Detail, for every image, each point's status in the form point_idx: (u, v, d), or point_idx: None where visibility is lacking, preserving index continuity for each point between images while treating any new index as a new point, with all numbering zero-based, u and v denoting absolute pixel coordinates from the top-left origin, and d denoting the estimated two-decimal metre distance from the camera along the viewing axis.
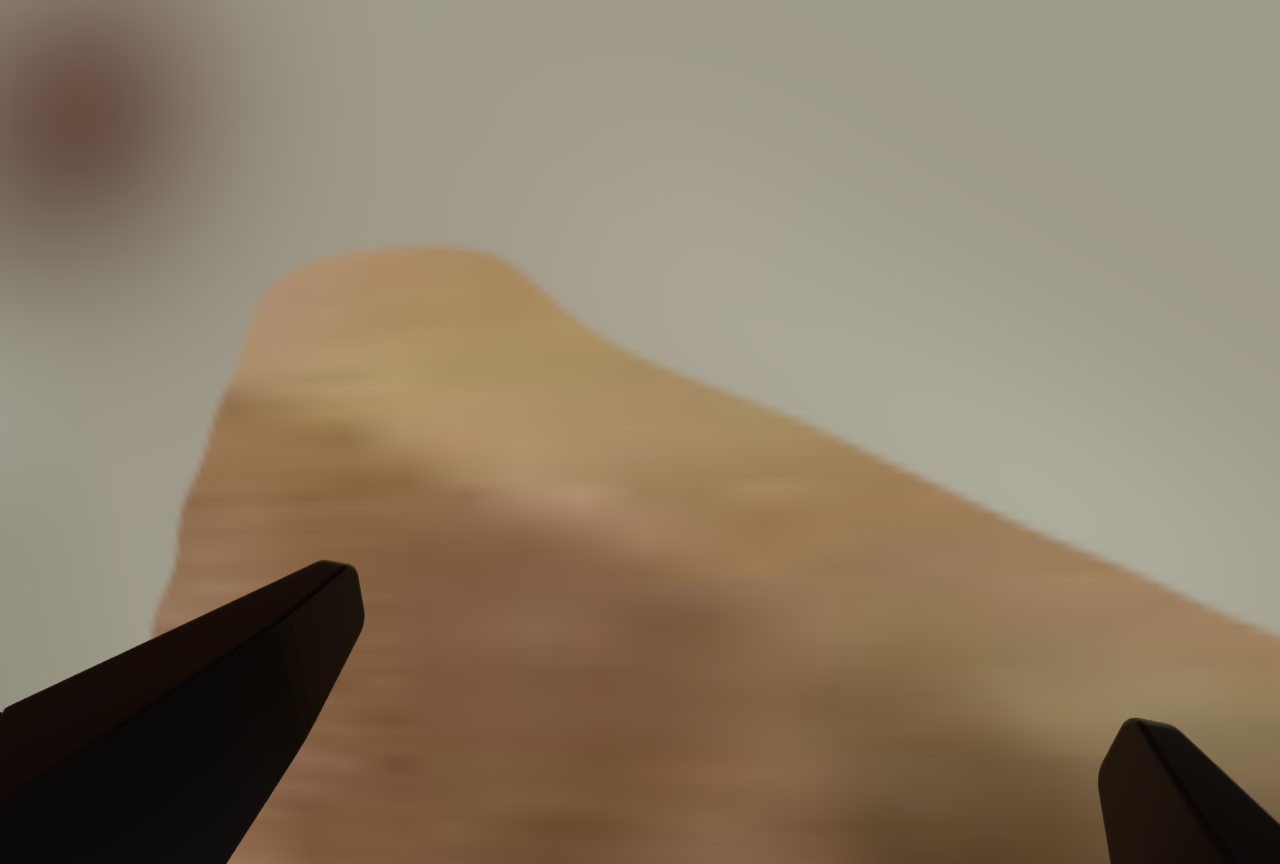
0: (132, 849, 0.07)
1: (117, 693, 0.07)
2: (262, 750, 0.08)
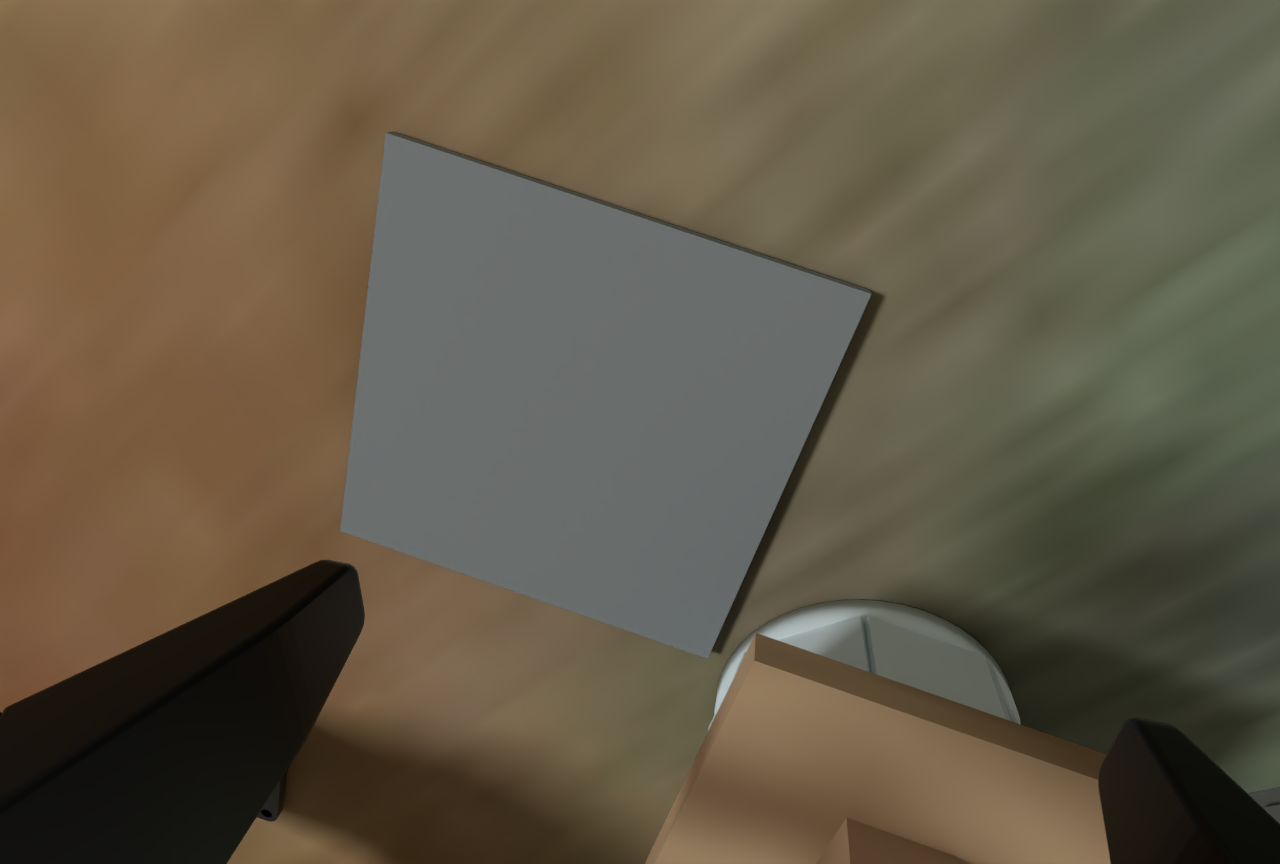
0: (132, 849, 0.07)
1: (117, 693, 0.07)
2: (262, 750, 0.08)
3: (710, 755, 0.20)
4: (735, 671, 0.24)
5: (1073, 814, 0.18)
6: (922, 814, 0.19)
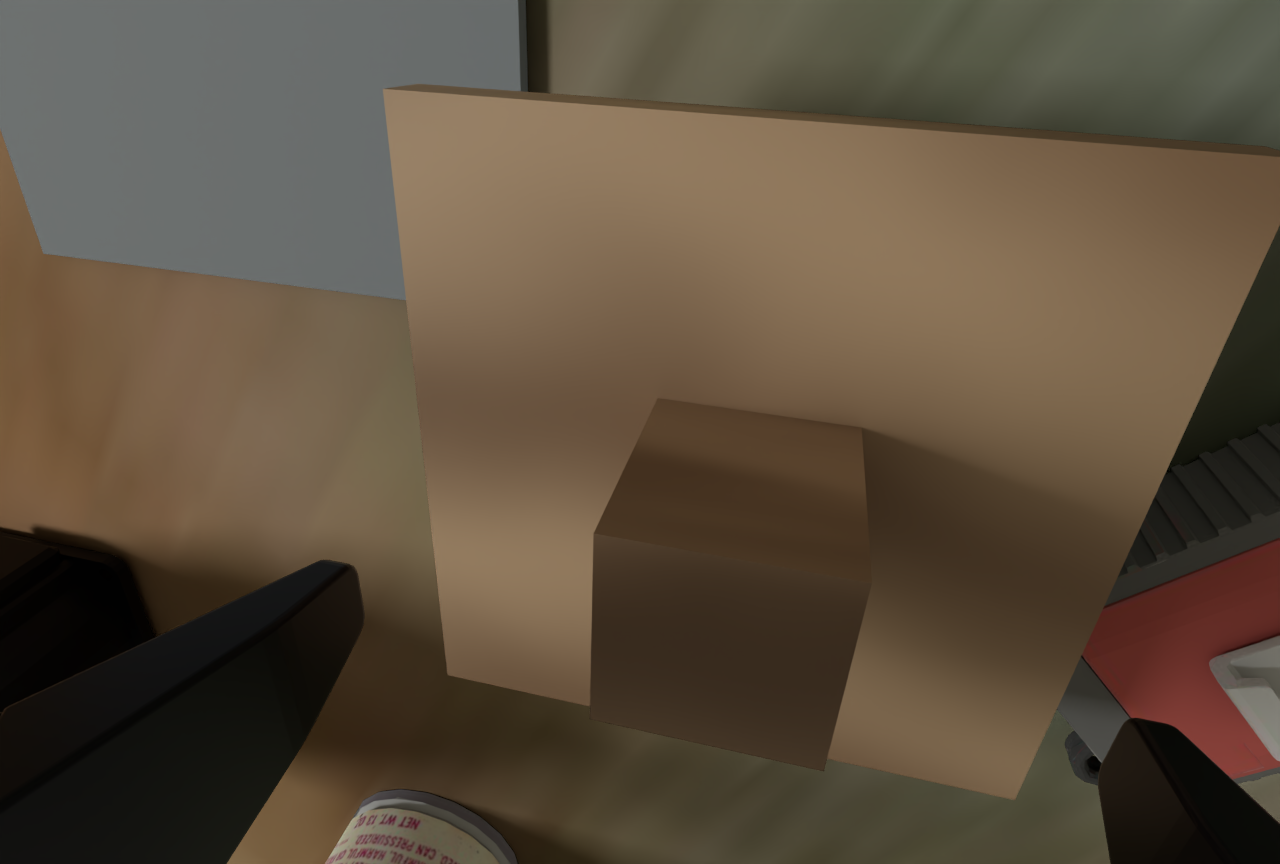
0: (132, 849, 0.07)
1: (117, 693, 0.07)
2: (262, 750, 0.08)
3: (413, 333, 0.12)
4: None
5: (1044, 252, 0.09)
6: (773, 348, 0.10)
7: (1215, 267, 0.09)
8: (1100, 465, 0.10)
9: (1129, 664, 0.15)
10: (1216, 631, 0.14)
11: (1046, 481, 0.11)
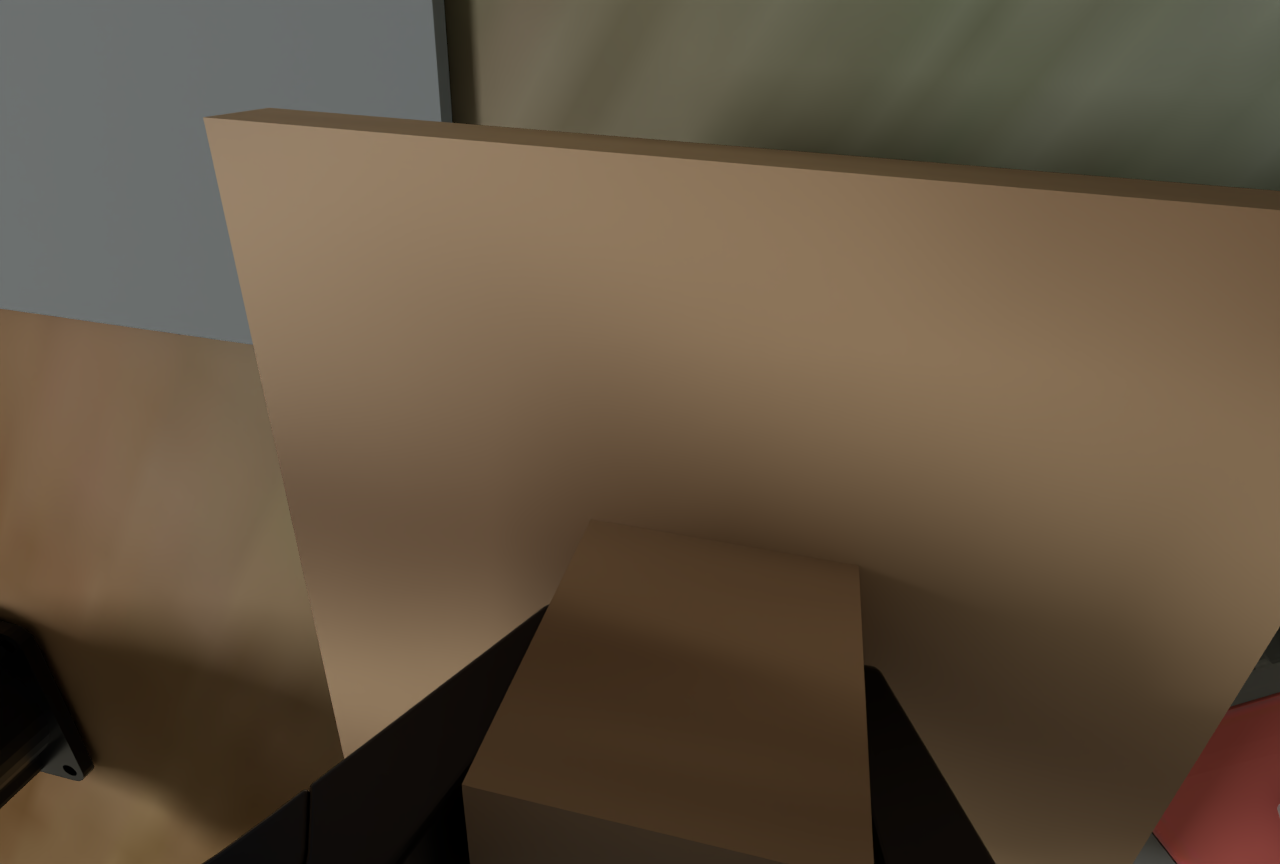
0: None
1: (418, 766, 0.06)
2: None
3: (275, 430, 0.09)
4: None
5: (1117, 352, 0.06)
6: (740, 464, 0.08)
7: None
8: (1180, 625, 0.08)
9: (1175, 800, 0.12)
10: None
11: (1106, 641, 0.08)
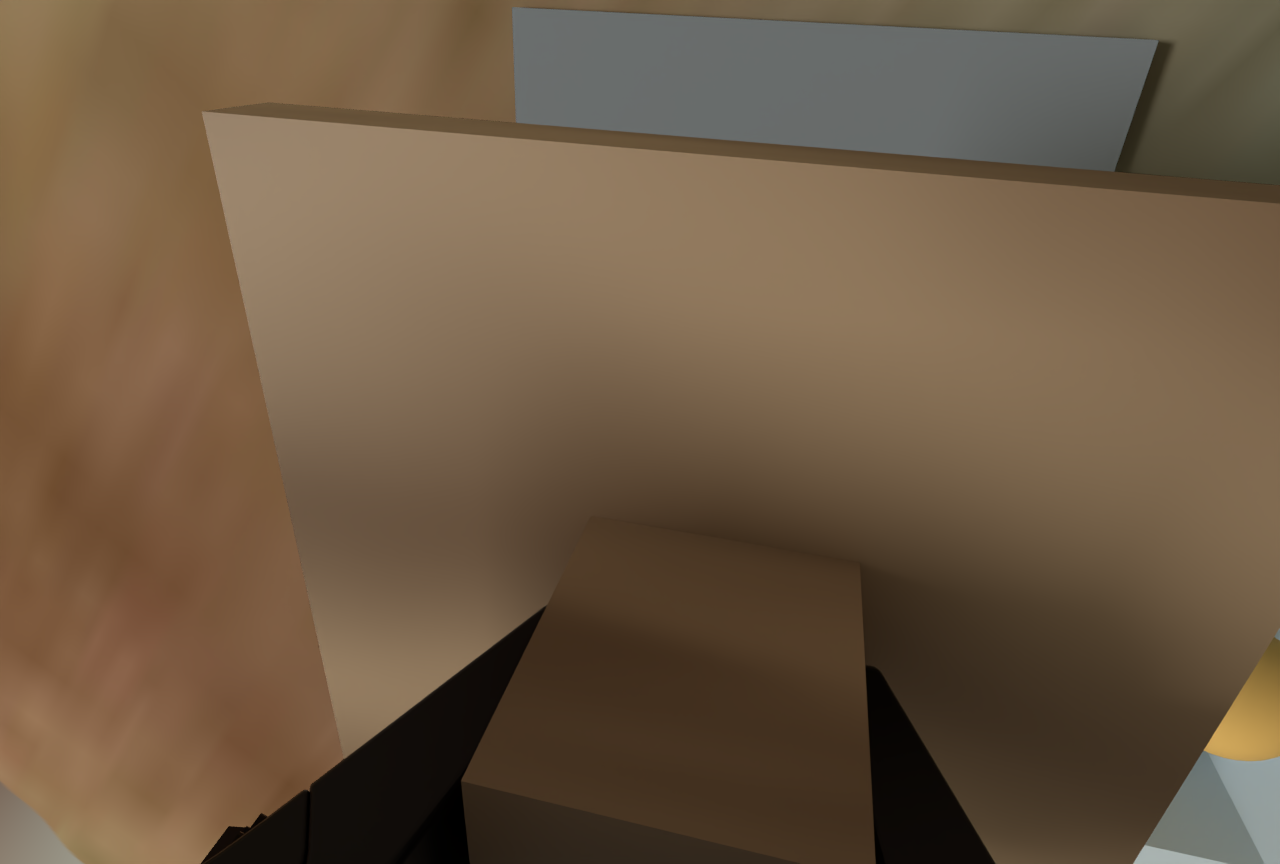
0: None
1: (418, 766, 0.06)
2: None
3: (274, 426, 0.09)
4: None
5: (1119, 347, 0.06)
6: (740, 460, 0.08)
7: None
8: (1184, 623, 0.08)
9: None
10: None
11: (1108, 638, 0.08)
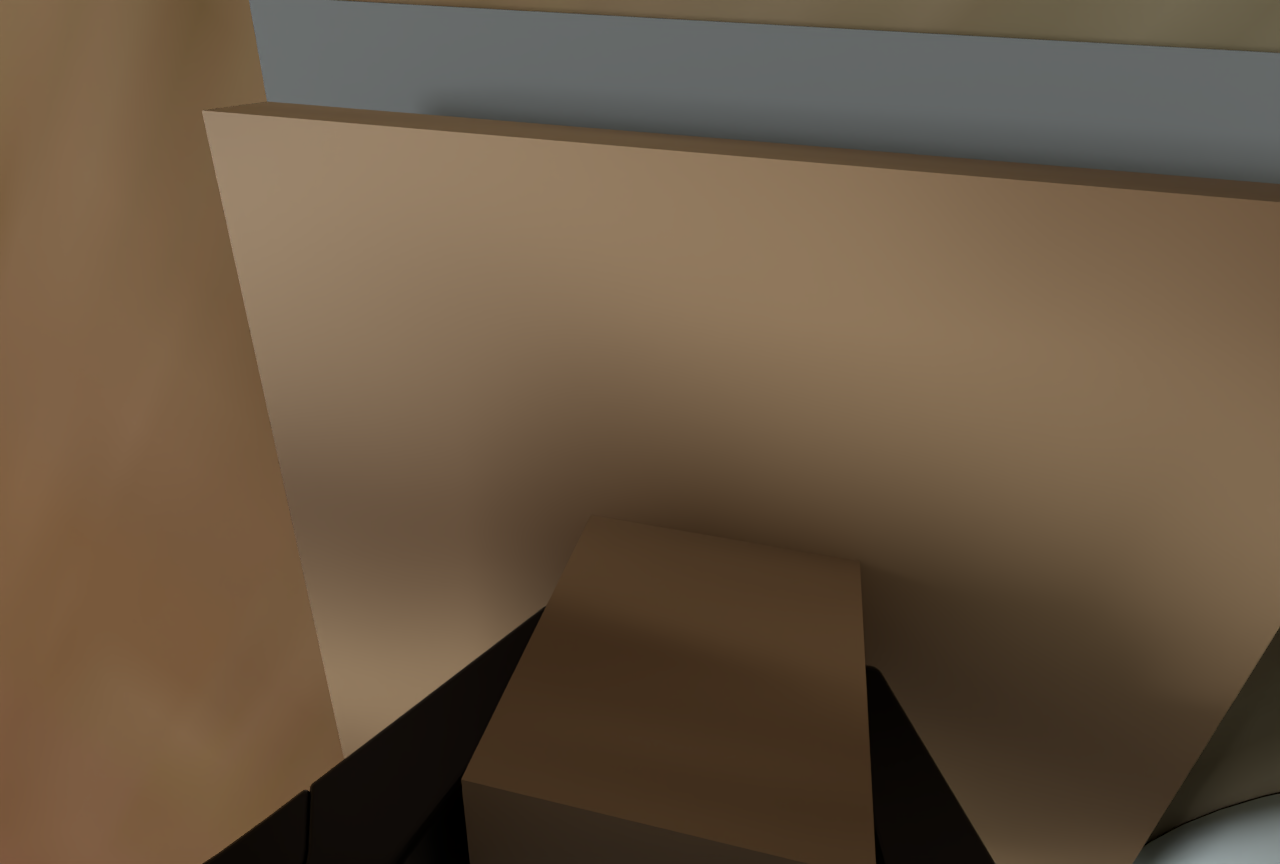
0: None
1: (418, 766, 0.06)
2: None
3: (275, 425, 0.09)
4: None
5: (1119, 346, 0.06)
6: (741, 459, 0.08)
7: None
8: (1184, 621, 0.08)
9: None
10: None
11: (1108, 637, 0.08)
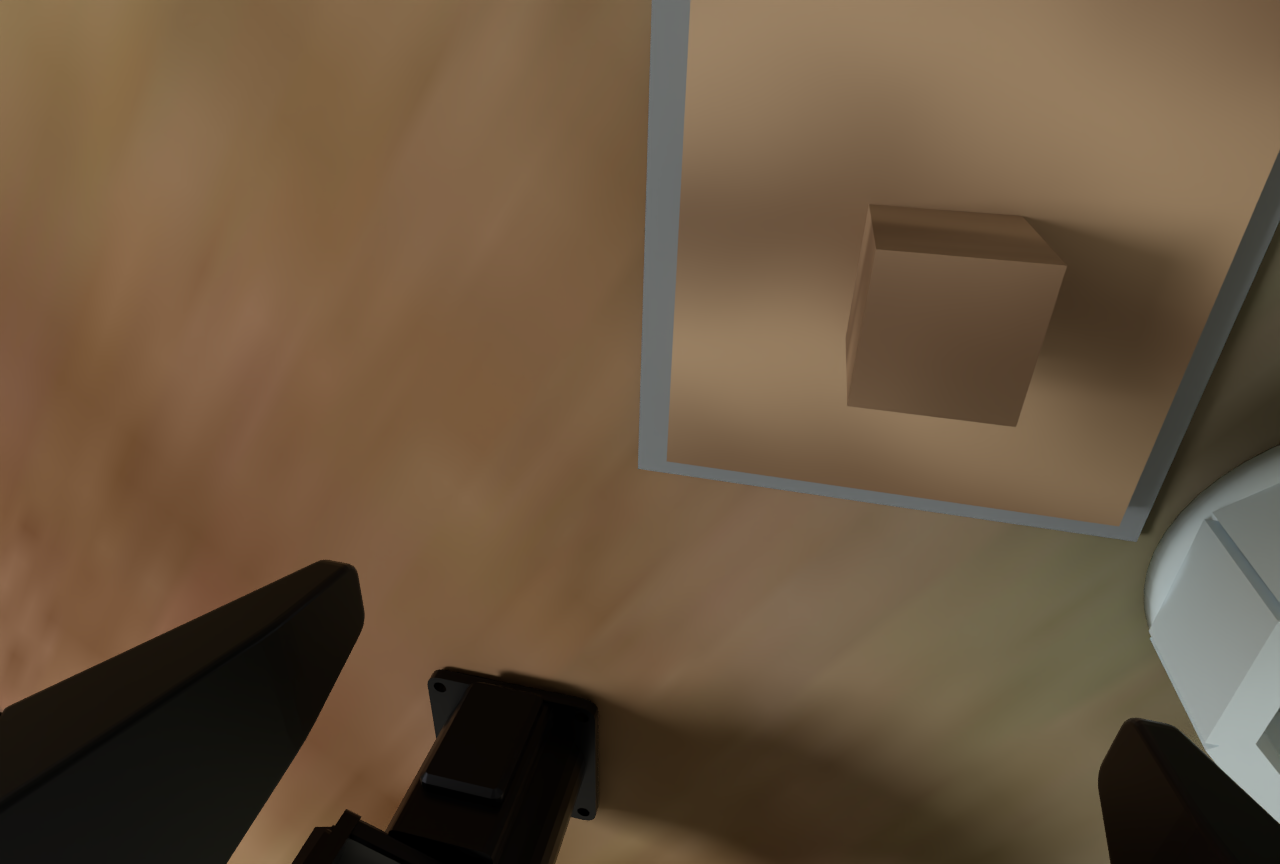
0: (132, 849, 0.07)
1: (117, 693, 0.07)
2: (262, 750, 0.08)
3: (684, 165, 0.16)
4: (1191, 548, 0.18)
5: (1164, 70, 0.13)
6: (960, 157, 0.15)
7: None
8: (1196, 232, 0.15)
9: None
10: None
11: (1156, 248, 0.15)
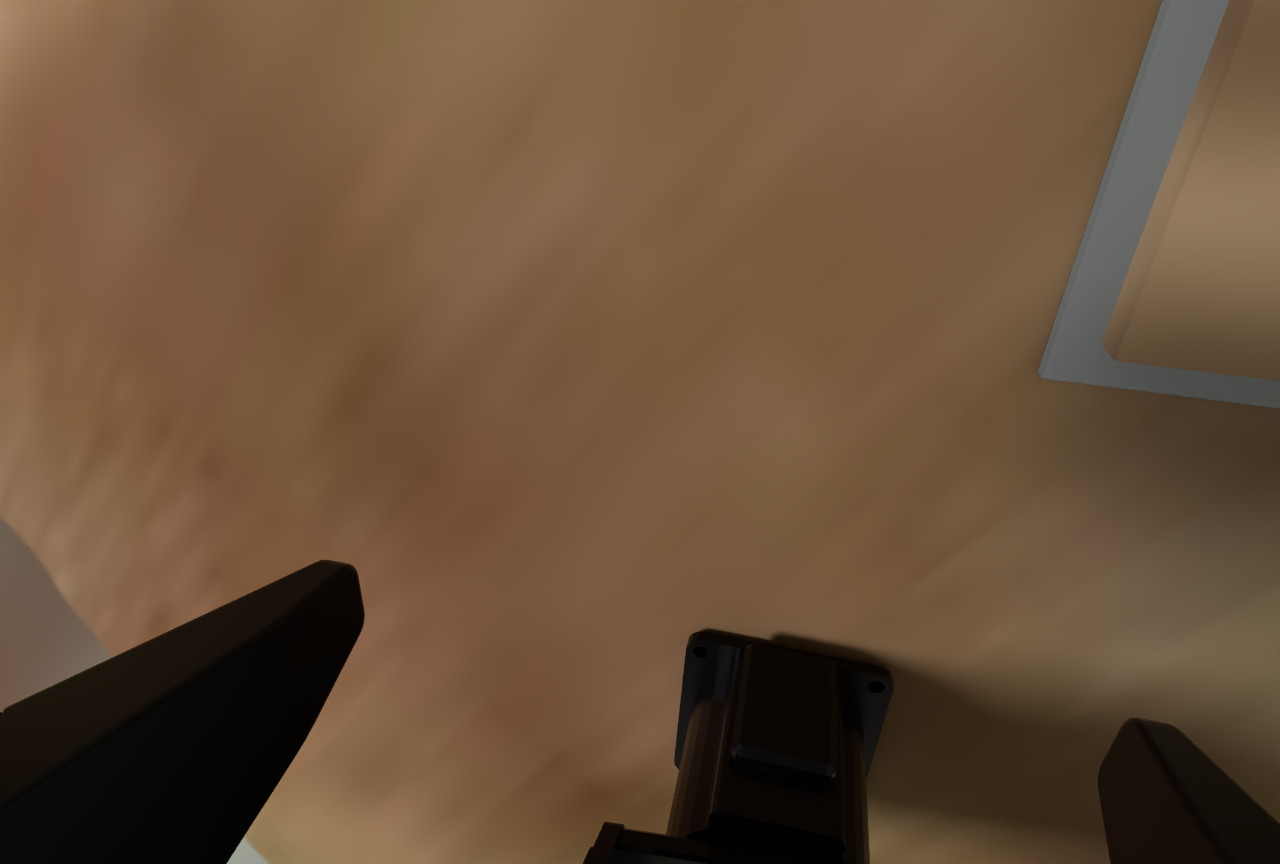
0: (132, 849, 0.07)
1: (117, 693, 0.07)
2: (262, 750, 0.08)
3: None
4: None
5: None
6: None
7: None
8: None
9: None
10: None
11: None
